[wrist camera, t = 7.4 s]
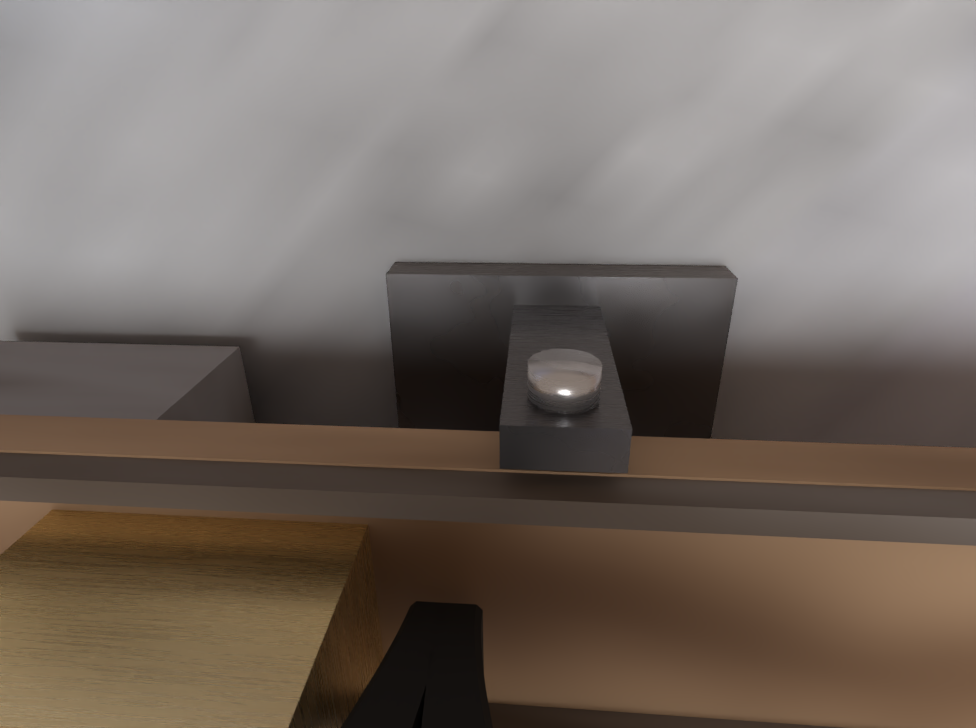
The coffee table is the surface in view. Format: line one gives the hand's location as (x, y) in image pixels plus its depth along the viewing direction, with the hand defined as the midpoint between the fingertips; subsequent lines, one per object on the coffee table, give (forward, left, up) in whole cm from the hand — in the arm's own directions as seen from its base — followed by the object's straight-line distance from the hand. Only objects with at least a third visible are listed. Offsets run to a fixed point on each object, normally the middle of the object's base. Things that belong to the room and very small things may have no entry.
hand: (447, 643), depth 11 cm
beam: (0, -1, -6) cm, 6 cm away
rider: (0, +5, -1) cm, 5 cm away
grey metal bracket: (0, -2, -7) cm, 7 cm away
